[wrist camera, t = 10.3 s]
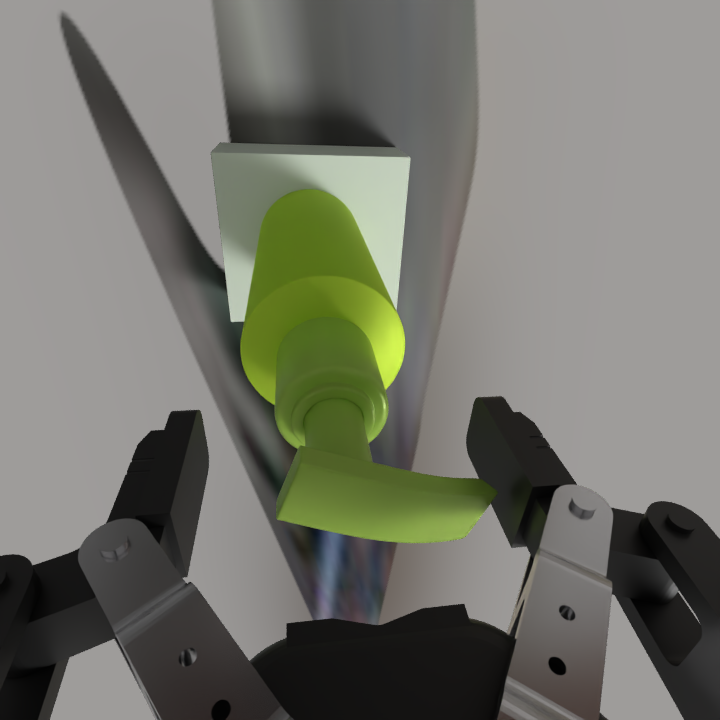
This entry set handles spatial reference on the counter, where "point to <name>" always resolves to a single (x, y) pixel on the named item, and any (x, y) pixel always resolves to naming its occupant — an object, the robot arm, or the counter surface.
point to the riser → (308, 171)
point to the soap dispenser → (338, 380)
